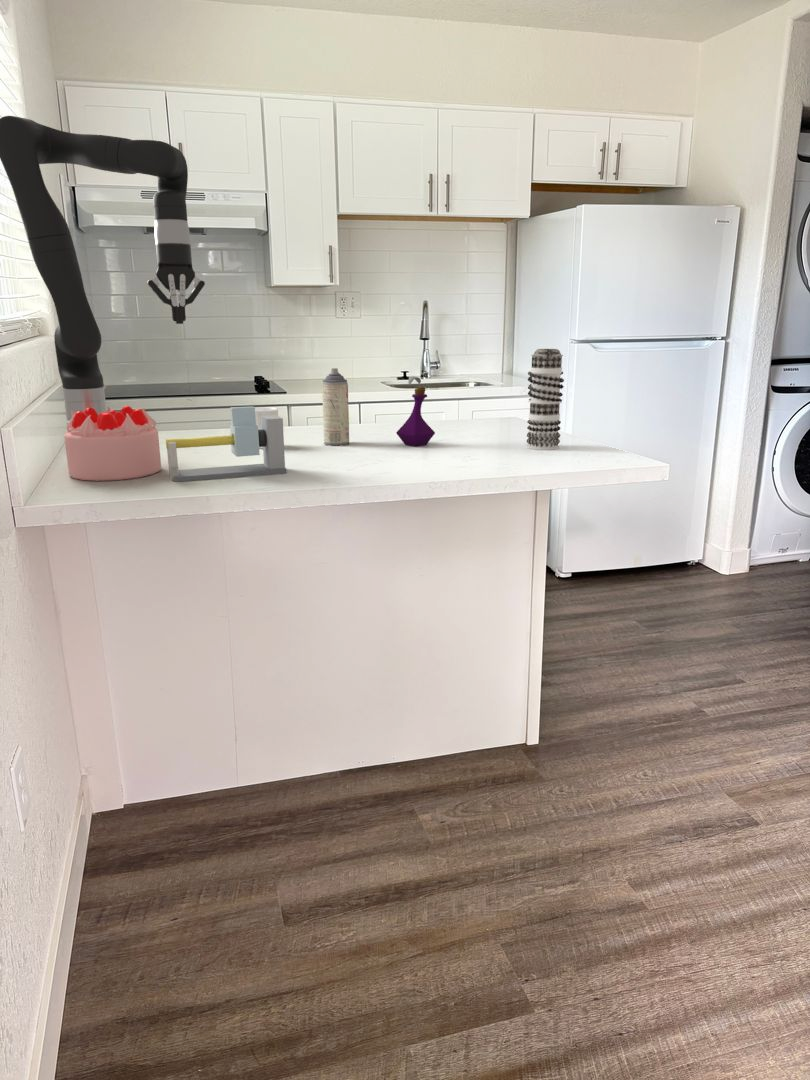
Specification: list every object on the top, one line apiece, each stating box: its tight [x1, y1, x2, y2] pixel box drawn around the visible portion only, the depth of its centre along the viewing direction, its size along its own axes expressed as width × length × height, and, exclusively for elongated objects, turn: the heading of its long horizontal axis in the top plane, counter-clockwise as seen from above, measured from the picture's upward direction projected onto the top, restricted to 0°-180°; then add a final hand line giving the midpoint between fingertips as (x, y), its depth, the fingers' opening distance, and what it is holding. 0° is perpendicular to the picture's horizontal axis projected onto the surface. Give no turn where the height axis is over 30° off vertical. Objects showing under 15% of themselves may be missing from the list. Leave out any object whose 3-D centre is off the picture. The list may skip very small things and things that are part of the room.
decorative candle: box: [526, 348, 565, 451], centre depth 203 cm, size 9×9×25 cm
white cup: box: [255, 406, 279, 450], centre depth 209 cm, size 8×8×10 cm
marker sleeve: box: [229, 406, 261, 458], centre depth 174 cm, size 5×6×10 cm
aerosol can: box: [321, 367, 350, 447], centre depth 211 cm, size 7×7×20 cm
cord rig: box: [165, 415, 287, 483], centre depth 173 cm, size 25×8×12 cm, turn 112°
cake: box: [63, 405, 162, 482], centre depth 176 cm, size 20×20×14 cm
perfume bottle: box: [396, 376, 436, 448], centre depth 209 cm, size 8×8×18 cm
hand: (179, 323), depth 180 cm, fingers closed
